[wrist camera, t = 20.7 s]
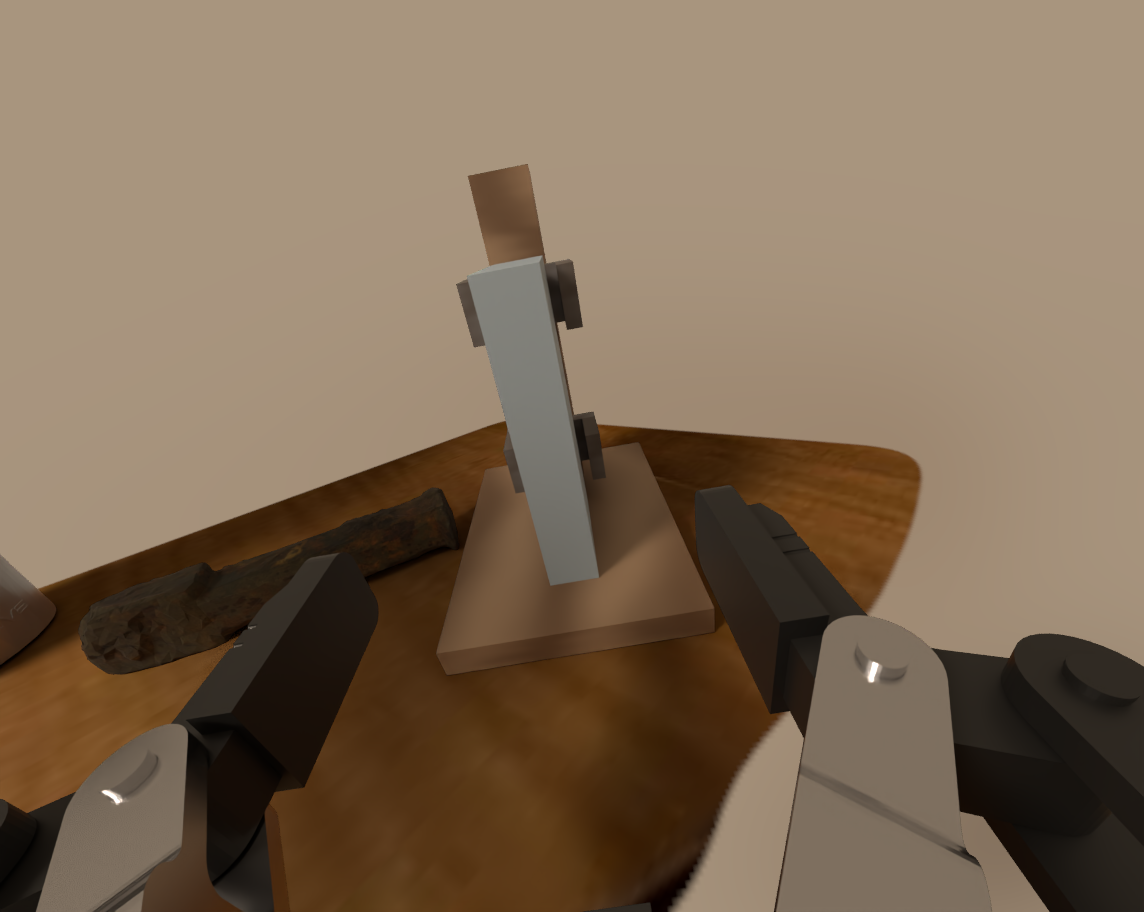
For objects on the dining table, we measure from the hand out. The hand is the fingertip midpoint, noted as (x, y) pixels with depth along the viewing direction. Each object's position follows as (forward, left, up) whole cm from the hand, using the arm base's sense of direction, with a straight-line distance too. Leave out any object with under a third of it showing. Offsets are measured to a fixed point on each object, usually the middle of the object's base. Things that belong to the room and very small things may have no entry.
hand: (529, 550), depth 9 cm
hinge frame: (0, +12, -10) cm, 16 cm away
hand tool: (-16, +11, -10) cm, 22 cm away
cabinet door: (0, +11, -8) cm, 14 cm away
